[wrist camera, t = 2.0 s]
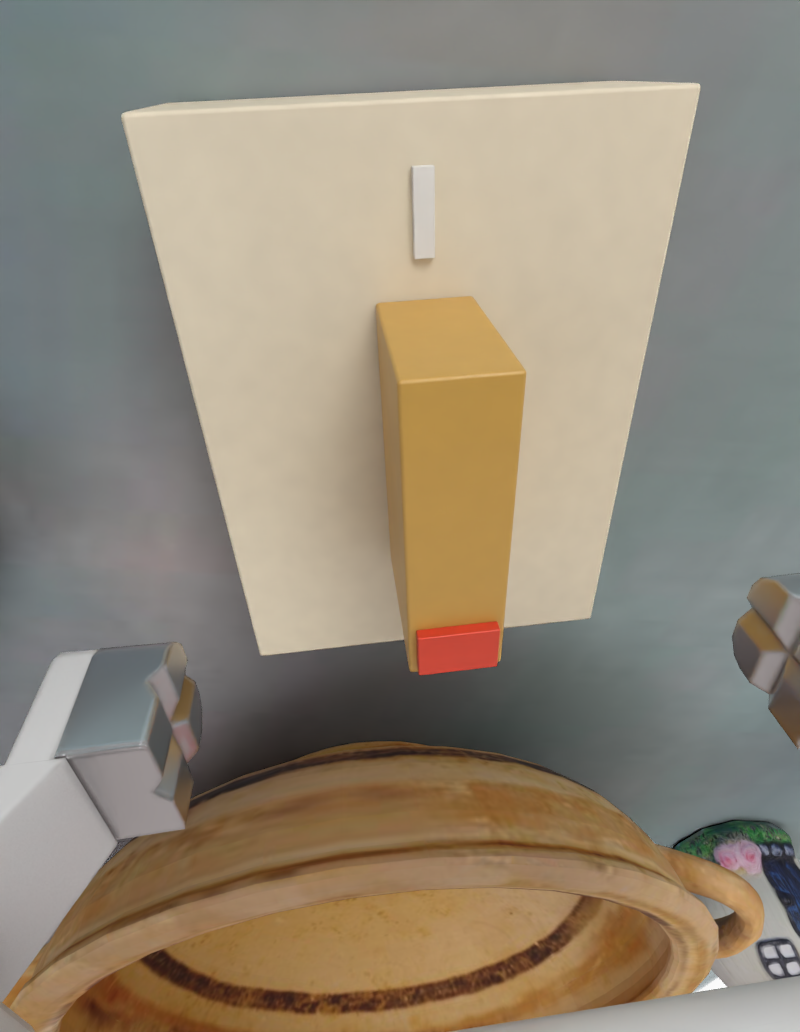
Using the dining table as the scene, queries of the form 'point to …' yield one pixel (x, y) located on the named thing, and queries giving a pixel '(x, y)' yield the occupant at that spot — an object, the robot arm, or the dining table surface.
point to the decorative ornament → (780, 884)
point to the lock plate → (405, 277)
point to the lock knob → (449, 476)
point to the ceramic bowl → (384, 905)
